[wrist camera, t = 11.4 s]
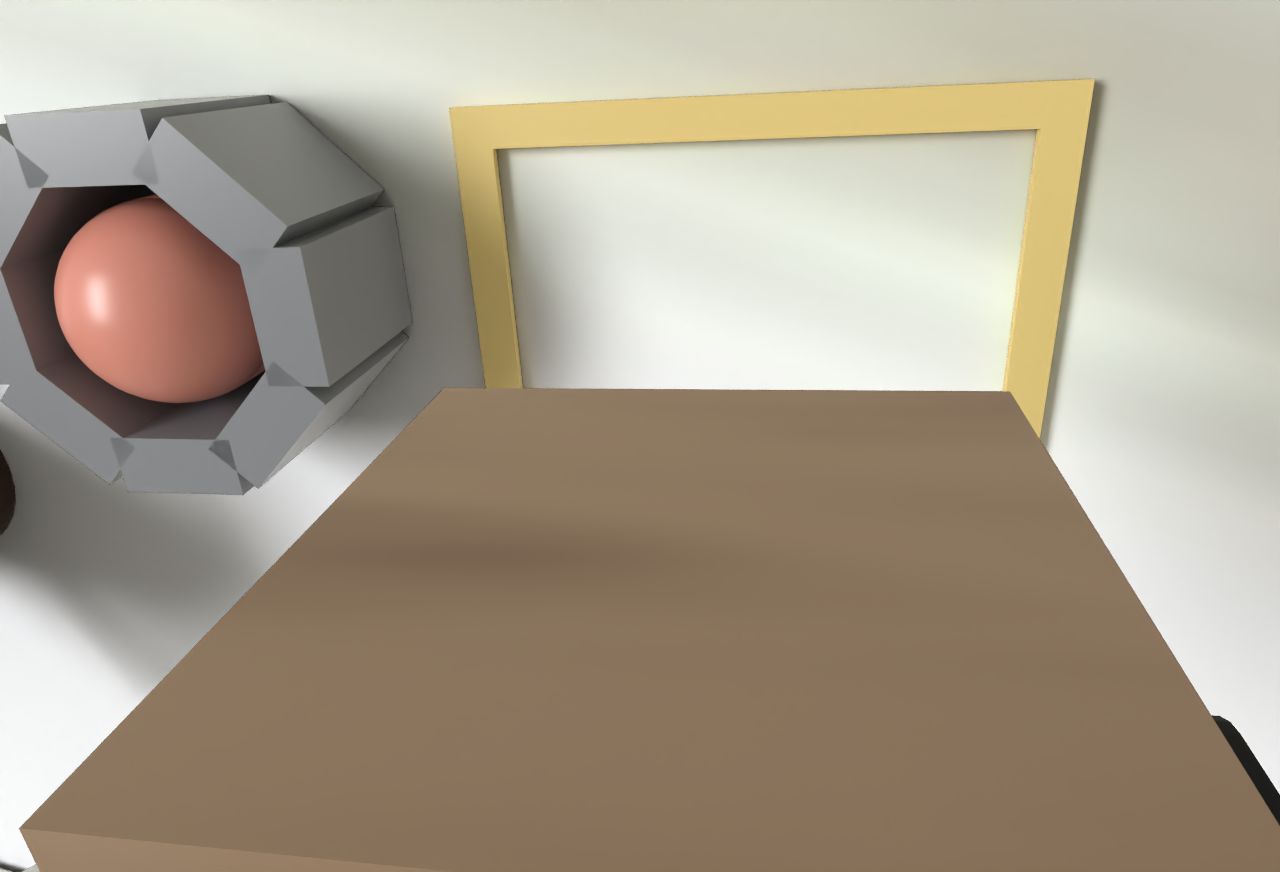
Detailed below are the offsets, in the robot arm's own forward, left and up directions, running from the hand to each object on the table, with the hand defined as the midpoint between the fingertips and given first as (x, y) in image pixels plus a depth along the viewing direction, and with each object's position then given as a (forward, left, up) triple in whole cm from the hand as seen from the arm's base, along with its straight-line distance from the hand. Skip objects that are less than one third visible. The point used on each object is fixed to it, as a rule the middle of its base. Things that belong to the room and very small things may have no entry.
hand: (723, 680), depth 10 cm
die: (0, 0, -1) cm, 1 cm away
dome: (+1, +14, -14) cm, 20 cm away
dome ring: (+1, +14, -15) cm, 20 cm away
